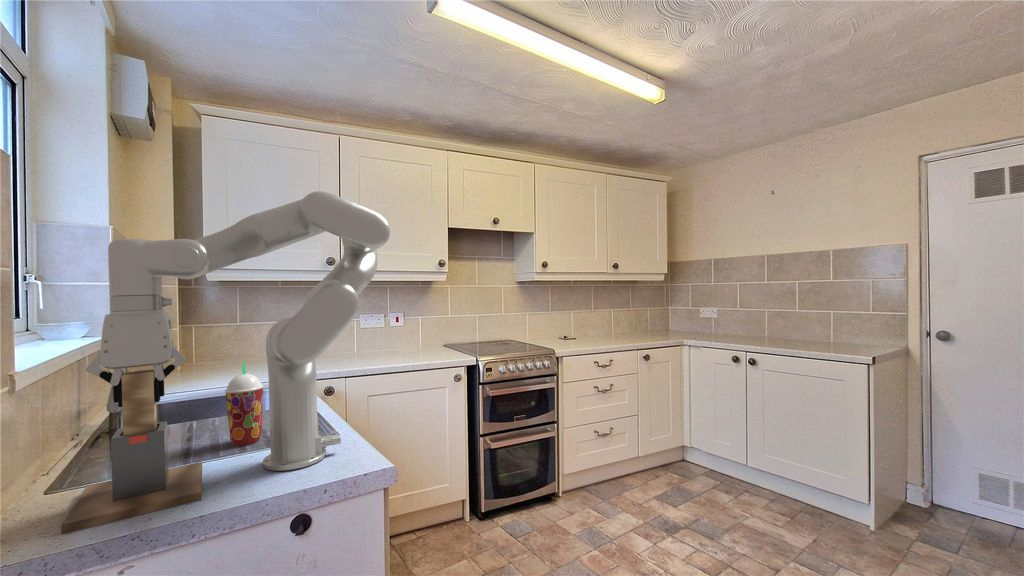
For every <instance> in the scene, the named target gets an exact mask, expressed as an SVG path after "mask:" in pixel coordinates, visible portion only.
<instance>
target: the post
mask: <svg viewBox="0 0 1024 576" xmlns="http://www.w3.org/2000/svg"><path fill="white" fill-rule="evenodd" d="M155 377H156V374H155V371H154V369H142V370H132V371H124V373H123V375H122V407H121V409H122V428H123V435H130V434H136V433H142V432H148V431H154V430H157V423H158V417H157V411H158V410H157V402H154V381H155Z"/></svg>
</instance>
